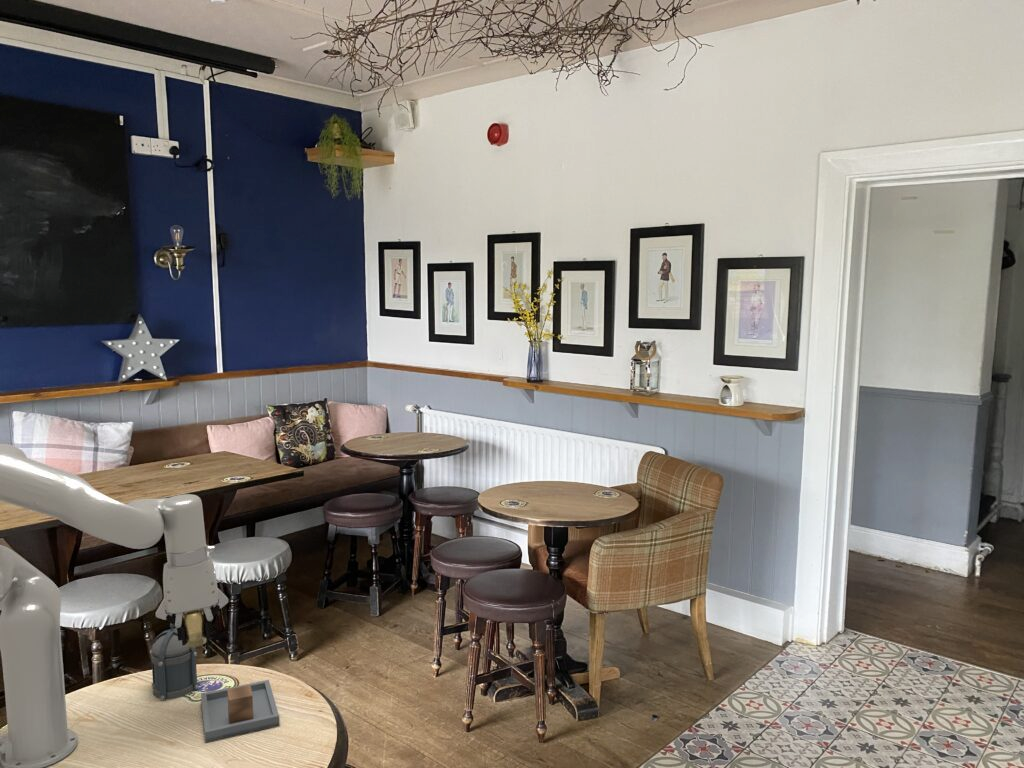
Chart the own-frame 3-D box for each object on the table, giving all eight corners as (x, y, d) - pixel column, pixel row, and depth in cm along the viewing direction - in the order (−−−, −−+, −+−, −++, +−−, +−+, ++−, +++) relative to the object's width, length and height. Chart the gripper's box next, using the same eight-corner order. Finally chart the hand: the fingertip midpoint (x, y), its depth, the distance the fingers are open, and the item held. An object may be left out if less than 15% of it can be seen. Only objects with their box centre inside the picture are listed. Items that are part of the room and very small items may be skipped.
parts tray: (205, 742, 147) (204, 732, 147) (201, 703, 162) (200, 693, 162) (279, 726, 153) (279, 715, 153) (269, 689, 168) (268, 679, 167)
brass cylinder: (186, 649, 154) (182, 616, 153) (185, 641, 157) (181, 609, 156) (206, 644, 155) (203, 612, 154) (205, 636, 159) (202, 605, 158)
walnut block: (229, 728, 151) (228, 700, 150) (228, 717, 155) (227, 689, 154) (253, 723, 153) (252, 695, 152) (251, 712, 157) (250, 685, 156)
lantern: (209, 677, 173) (204, 551, 169) (185, 702, 162) (178, 568, 159) (165, 675, 174) (159, 550, 170) (138, 699, 163) (131, 566, 160)
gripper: (229, 542, 160) (236, 623, 163) (142, 557, 153) (151, 642, 156) (232, 553, 154) (240, 637, 156) (141, 569, 147) (151, 657, 149)
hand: (196, 639), depth 156 cm, fingers closed on brass cylinder, 4 cm apart
